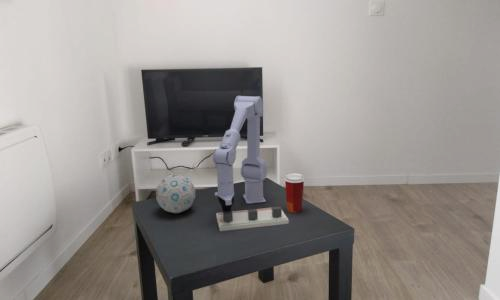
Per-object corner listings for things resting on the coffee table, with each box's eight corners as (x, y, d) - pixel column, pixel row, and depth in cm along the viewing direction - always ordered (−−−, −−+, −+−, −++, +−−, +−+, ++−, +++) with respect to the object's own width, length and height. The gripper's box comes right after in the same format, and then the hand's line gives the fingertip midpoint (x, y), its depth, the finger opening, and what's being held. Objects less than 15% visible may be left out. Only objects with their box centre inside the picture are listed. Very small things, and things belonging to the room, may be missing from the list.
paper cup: (305, 206, 150) (305, 173, 146) (302, 214, 143) (303, 180, 139) (286, 205, 152) (286, 172, 148) (282, 213, 145) (282, 178, 141)
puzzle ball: (149, 215, 146) (145, 178, 142) (174, 201, 159) (171, 167, 155) (180, 222, 139) (177, 184, 135) (204, 207, 152) (201, 172, 148)
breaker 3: (271, 214, 139) (271, 207, 138) (280, 214, 140) (280, 206, 139) (273, 217, 137) (273, 209, 136) (281, 216, 138) (281, 208, 137)
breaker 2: (247, 217, 137) (247, 209, 137) (256, 216, 138) (256, 208, 137) (248, 219, 136) (248, 212, 135) (257, 218, 136) (257, 211, 135)
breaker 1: (223, 219, 136) (222, 211, 136) (231, 218, 137) (231, 210, 136) (223, 221, 135) (223, 213, 134) (232, 220, 135) (232, 212, 134)
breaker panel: (216, 216, 143) (216, 213, 142) (279, 210, 147) (279, 206, 147) (219, 231, 132) (219, 227, 131) (288, 223, 136) (288, 219, 136)
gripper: (212, 175, 141) (214, 209, 144) (216, 188, 127) (218, 225, 130) (231, 173, 142) (232, 207, 145) (236, 187, 128) (238, 223, 132)
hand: (226, 215), depth 138 cm, fingers closed
